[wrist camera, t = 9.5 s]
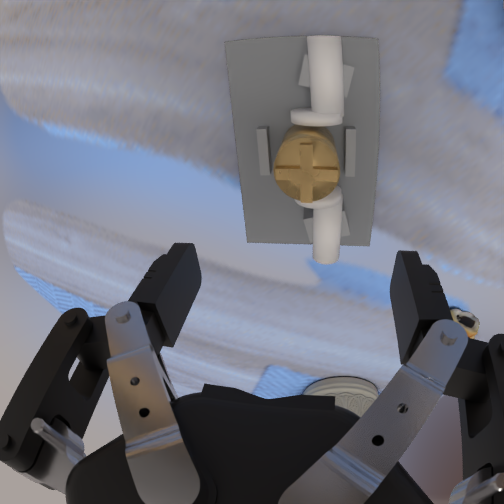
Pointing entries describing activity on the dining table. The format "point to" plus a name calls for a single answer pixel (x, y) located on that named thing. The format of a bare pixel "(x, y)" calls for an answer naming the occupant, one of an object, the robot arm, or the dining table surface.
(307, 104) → the shaft rig
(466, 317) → the pastry
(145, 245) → the dining table surface
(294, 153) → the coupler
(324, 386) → the jar
